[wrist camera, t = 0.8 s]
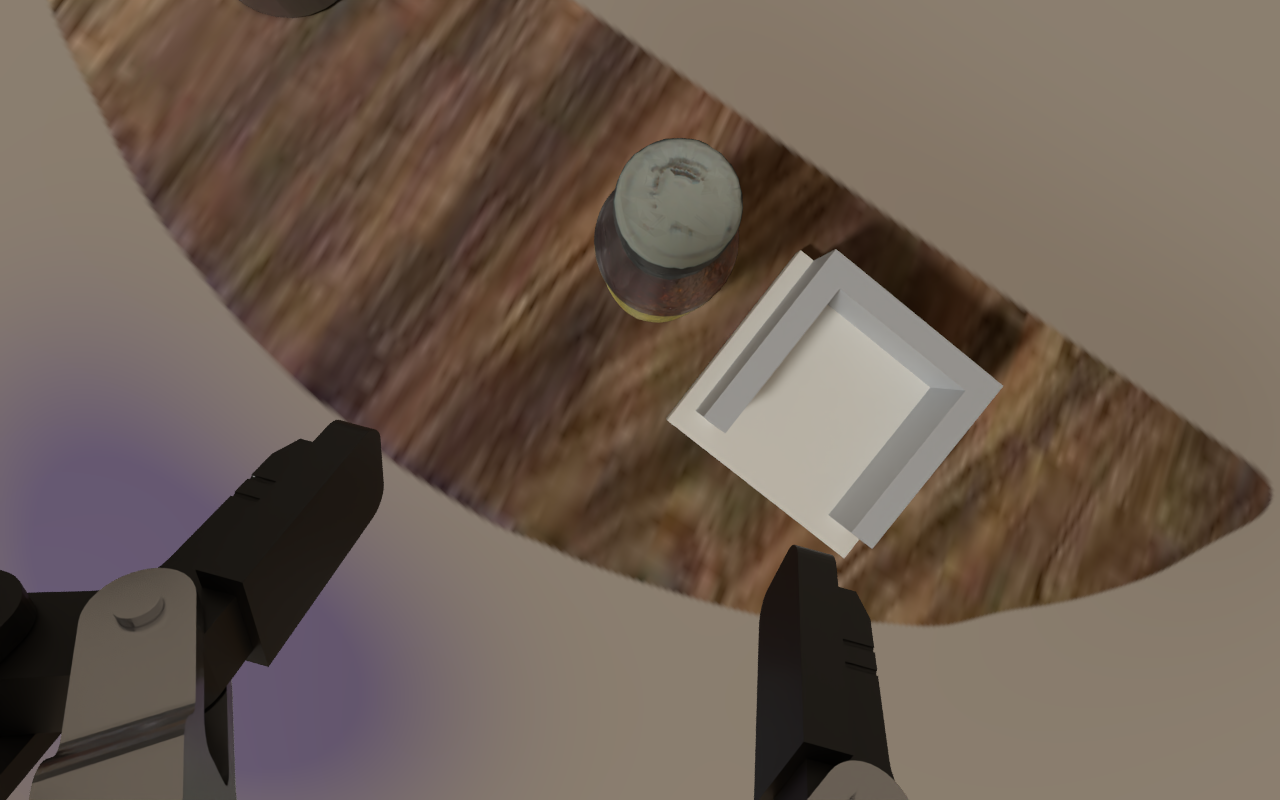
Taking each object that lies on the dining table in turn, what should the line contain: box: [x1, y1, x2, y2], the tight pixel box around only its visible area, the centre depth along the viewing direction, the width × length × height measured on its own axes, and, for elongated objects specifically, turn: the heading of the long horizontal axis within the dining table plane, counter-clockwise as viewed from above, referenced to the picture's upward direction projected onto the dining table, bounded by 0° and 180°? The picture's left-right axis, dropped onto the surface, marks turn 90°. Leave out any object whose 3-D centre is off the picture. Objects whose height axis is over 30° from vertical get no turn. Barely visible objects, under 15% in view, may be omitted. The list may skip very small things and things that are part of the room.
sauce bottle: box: [594, 138, 743, 322], centre depth 29 cm, size 6×6×20 cm
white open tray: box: [666, 249, 1003, 558], centre depth 37 cm, size 14×13×5 cm
